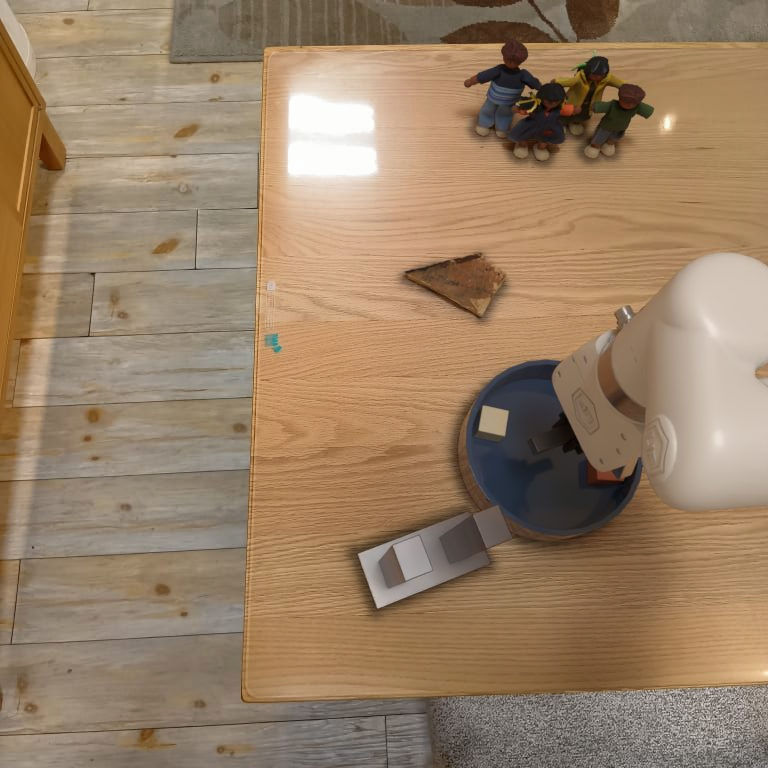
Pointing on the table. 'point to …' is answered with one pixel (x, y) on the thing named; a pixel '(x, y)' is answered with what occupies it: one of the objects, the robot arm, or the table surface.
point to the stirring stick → (551, 439)
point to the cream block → (491, 423)
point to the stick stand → (432, 555)
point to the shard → (462, 280)
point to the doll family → (556, 104)
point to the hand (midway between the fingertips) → (571, 435)
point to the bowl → (535, 462)
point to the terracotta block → (601, 476)
